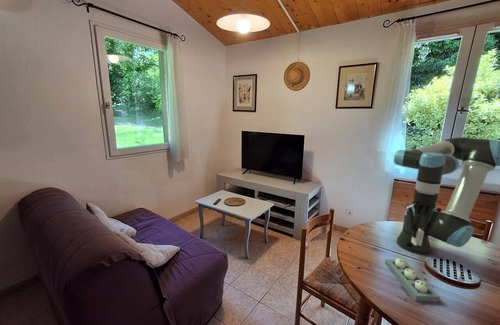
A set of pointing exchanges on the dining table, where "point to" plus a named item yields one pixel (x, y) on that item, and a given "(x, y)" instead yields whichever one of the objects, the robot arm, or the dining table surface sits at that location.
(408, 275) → the button
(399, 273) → the button board
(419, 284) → the button
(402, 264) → the button
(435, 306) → the dining table surface
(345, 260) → the dining table surface
